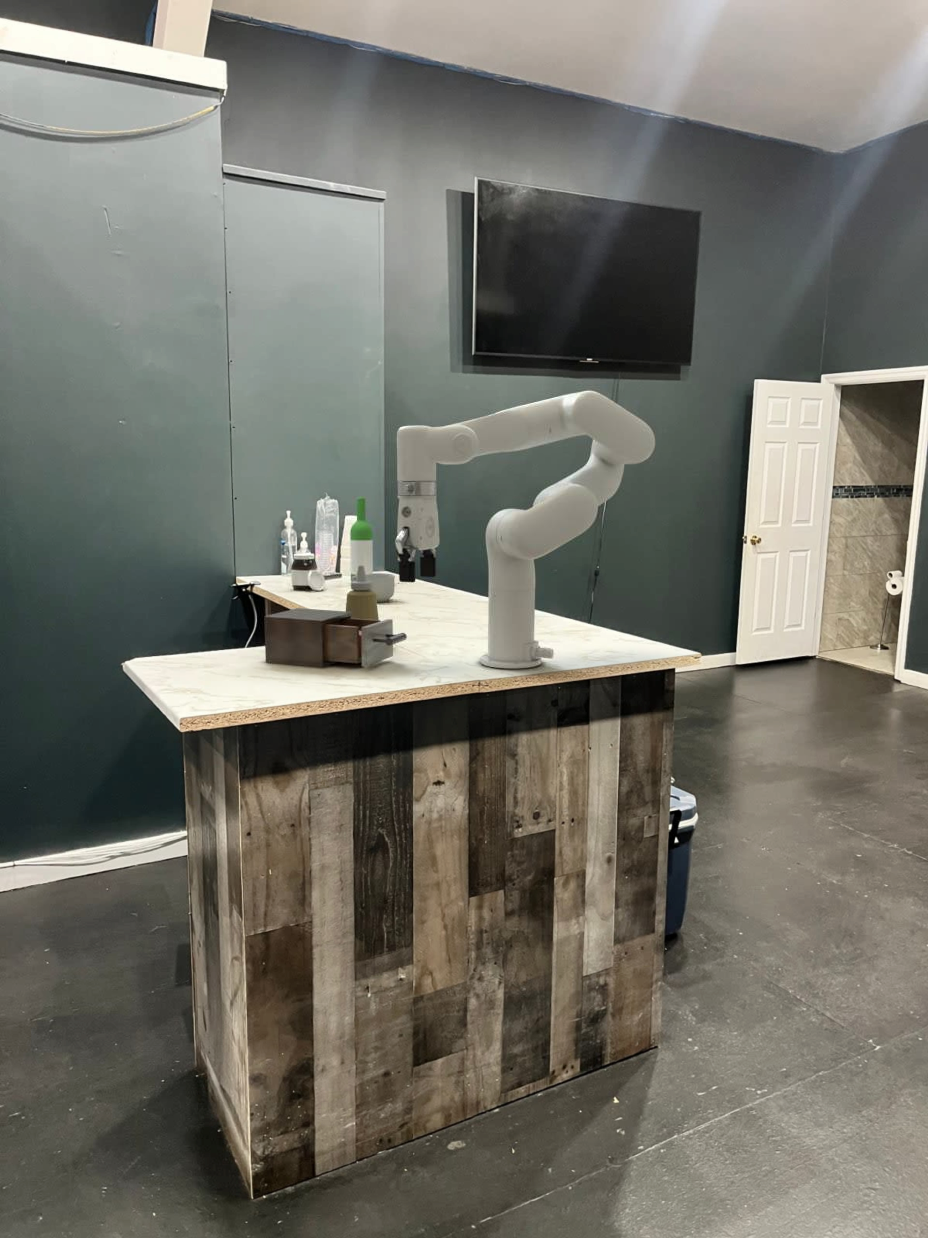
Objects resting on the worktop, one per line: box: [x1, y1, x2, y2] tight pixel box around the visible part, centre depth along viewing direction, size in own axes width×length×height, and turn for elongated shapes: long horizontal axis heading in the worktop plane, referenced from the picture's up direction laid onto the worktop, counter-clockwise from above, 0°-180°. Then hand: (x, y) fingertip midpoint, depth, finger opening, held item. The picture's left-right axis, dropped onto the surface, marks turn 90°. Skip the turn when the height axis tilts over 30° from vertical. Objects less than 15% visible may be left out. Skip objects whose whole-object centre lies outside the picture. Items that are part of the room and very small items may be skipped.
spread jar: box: [290, 553, 326, 592], centre depth 307 cm, size 12×11×12 cm
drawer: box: [324, 618, 408, 667], centre depth 188 cm, size 17×11×8 cm
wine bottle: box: [349, 497, 374, 583], centre depth 323 cm, size 8×8×30 cm
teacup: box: [352, 572, 396, 603], centre depth 281 cm, size 14×11×8 cm
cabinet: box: [263, 607, 353, 668], centre depth 192 cm, size 14×13×10 cm
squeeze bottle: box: [345, 566, 380, 620], centre depth 208 cm, size 8×8×18 cm
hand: (417, 579), depth 181 cm, fingers open, 9 cm apart
